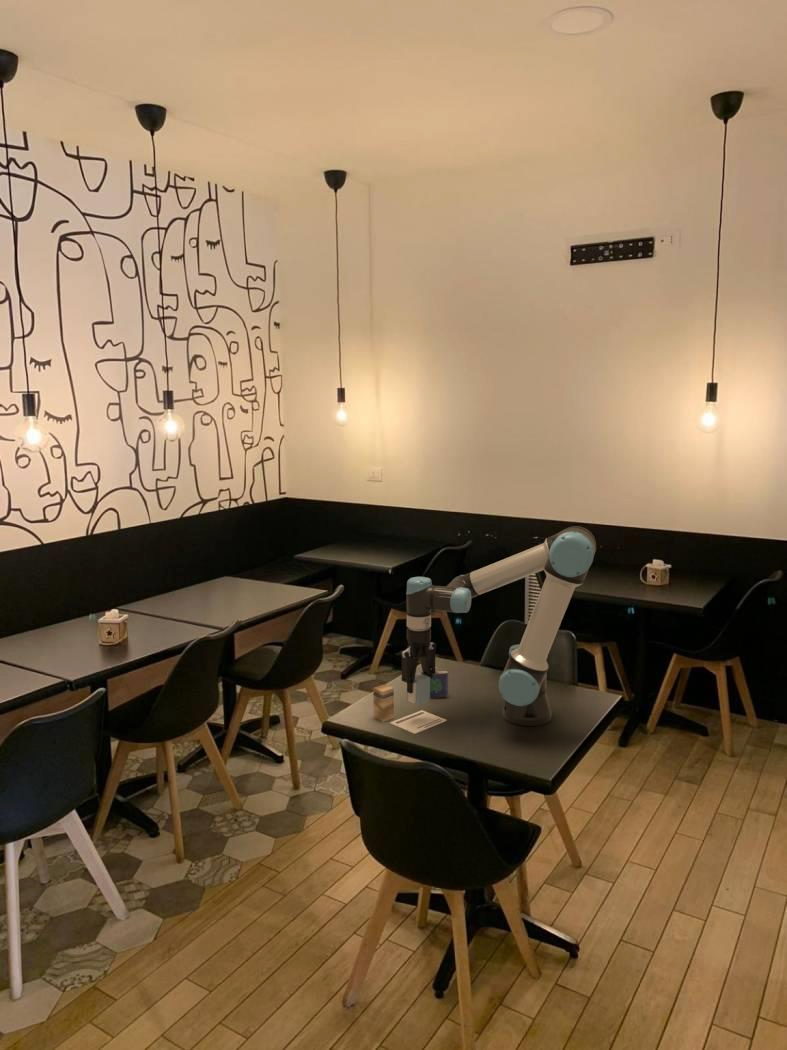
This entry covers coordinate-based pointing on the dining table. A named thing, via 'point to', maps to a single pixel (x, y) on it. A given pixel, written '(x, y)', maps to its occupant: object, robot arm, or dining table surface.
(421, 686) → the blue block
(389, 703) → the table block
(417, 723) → the menu card
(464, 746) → the dining table surface
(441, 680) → the flask
